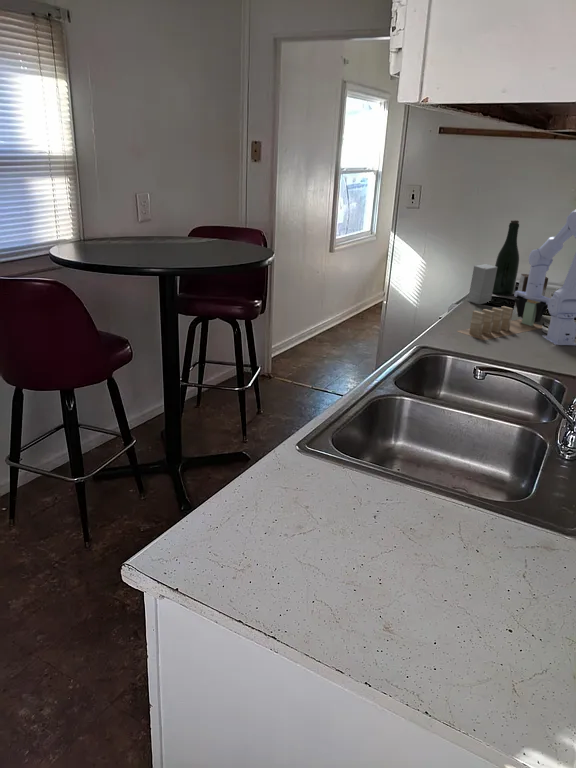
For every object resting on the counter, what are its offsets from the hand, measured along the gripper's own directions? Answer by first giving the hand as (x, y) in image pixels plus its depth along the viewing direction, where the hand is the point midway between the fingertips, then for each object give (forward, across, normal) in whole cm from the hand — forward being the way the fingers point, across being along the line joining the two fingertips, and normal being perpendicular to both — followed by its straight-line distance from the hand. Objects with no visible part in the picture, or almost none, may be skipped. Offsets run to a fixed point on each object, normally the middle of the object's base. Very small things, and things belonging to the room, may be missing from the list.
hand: (528, 319), depth 225 cm
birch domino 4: (+2, 0, +14) cm, 15 cm away
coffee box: (+3, +10, -14) cm, 17 cm away
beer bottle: (+3, +41, -39) cm, 57 cm away
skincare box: (+3, +34, -14) cm, 37 cm away
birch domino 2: (+2, 0, +25) cm, 25 cm away
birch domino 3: (+2, 0, +20) cm, 20 cm away
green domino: (+2, 0, 0) cm, 2 cm away
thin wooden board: (+3, 0, +15) cm, 15 cm away
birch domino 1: (+2, 0, +30) cm, 30 cm away
